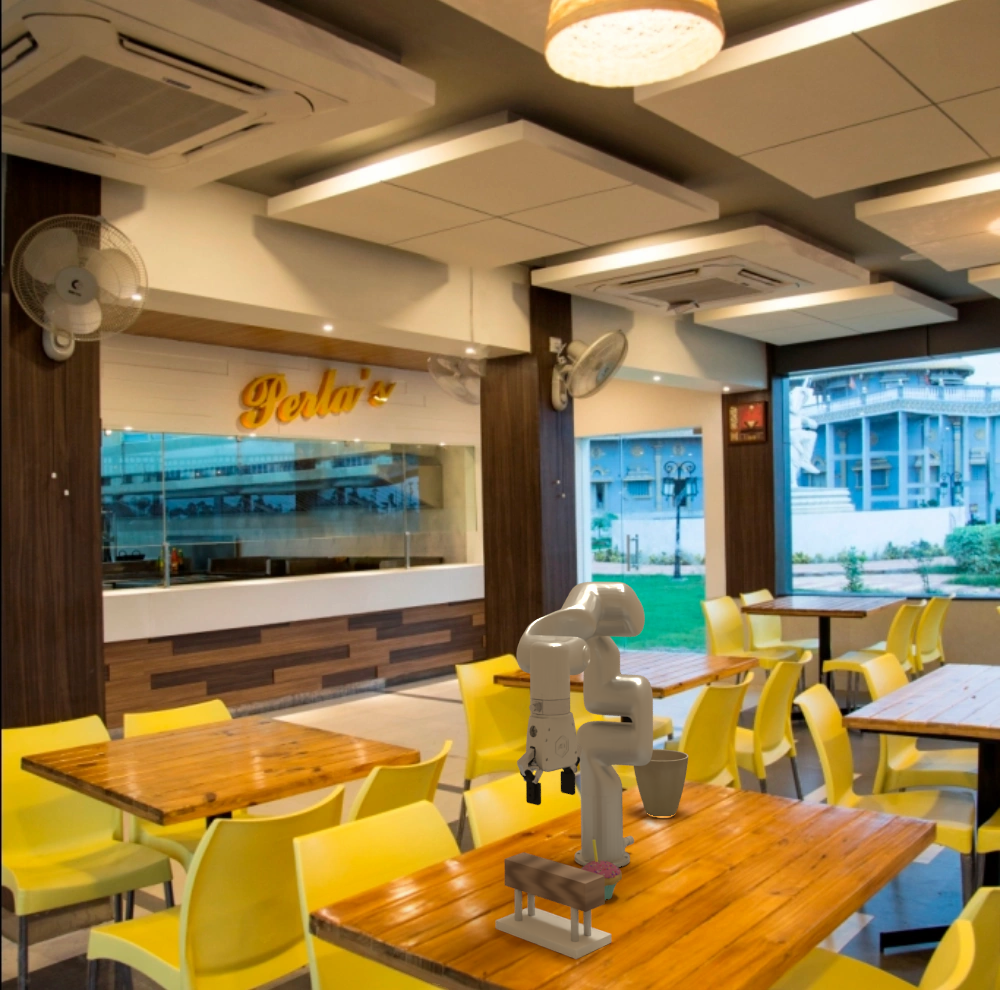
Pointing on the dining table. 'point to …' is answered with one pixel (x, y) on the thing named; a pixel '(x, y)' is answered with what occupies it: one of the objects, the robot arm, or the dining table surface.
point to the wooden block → (555, 881)
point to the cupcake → (604, 872)
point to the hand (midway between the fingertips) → (551, 798)
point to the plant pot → (662, 781)
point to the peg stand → (553, 929)
